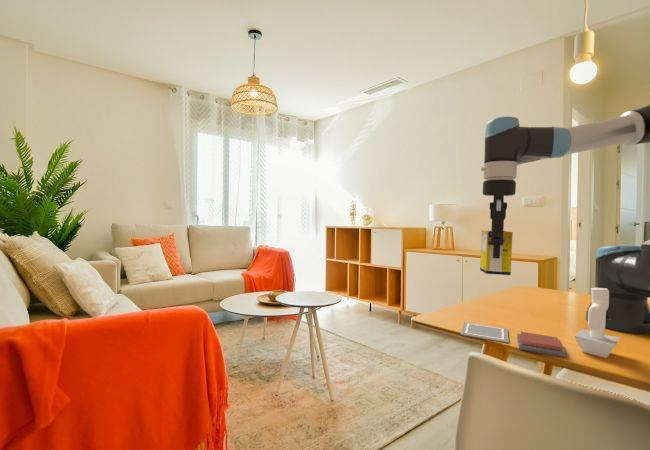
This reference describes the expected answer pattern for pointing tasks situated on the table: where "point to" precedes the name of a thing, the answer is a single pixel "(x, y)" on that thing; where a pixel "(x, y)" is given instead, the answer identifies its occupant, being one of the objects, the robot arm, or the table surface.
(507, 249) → the supplement box
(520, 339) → the ink pad
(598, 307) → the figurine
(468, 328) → the marked card
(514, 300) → the table surface
